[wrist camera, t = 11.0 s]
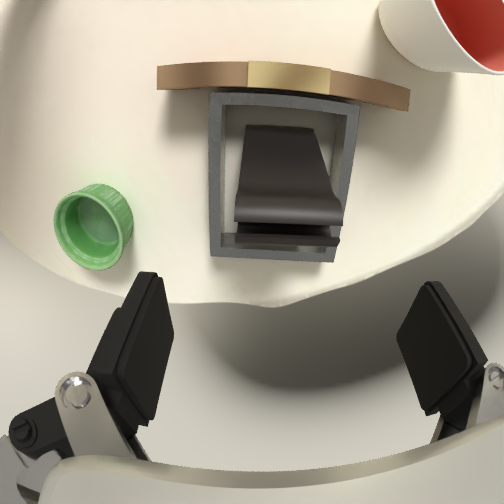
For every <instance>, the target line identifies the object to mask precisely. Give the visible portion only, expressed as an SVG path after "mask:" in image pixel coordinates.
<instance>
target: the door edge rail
mask: <svg viewBox="0 0 504 504" xmlns="http://www.w3.org/2000/svg"><path fill="white" fill-rule="evenodd" d="M200 88H250V89H270V90H283V91H294V92H303V93H311V94H319V95H326V96H332V97H338V98H344V99H349V100H355V101H360V102H364V103H369V104H373V105H378V106H382V107H386V108H391V109H397V110H402V111H407V112H408V106H409V96H410V89H407V88H404V87H401V86H397V85H394V84H390V83H387V82H383V81H379V80H376V79H371V78H367V77H363V76H359V75H354V74H349V73H344V72H339V71H333V70H331V69H328V68H322V67H315V66H308V65H300V64H291V63H280V62H265V61H249V62H199V63H184V64H173V65H164V66H157V90H181V89H200Z"/></svg>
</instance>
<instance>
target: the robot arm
mask: <svg viewBox="0 0 504 504" xmlns="http://www.w3.org/2000/svg"><path fill="white" fill-rule="evenodd" d="M173 339H174V330H173V325H172V321H171V317H170V312H169V307H168V302H167V298H166V293H165V287H164V282H163V278H162V277H158V275H157V273H155V272H142V271H141V272H139V273H138V275H137V277H136V279H135V281H134V283H133V285H132V287H131V289H130V291H129V293H128V294H127V296H126V298H125V301H124V303H123V305H122V307H121V308H117V309H116V310H115V311H114V313H113V315H112V317H111V319H110V321H109V323H108V325H107V328H106V330H105V331H104V334H103V336H102V338H101V340H100V343H99V345H98V347H97V349H96V351H95V354H94V356H93V358H92V360H91V363H90V365H89V367H88V370H87V372H86V373H83V372H73V373H69V374H67V375H66V376H64V377H63V378H62V379H61V380H60V381H59V383H58V385H57V386H56V390H55V397H53V398H51V399H49V400H47V401H45V402H43V403H41V404H39V405H37V406H35V407H33V408H31V409H28V410H26V411H24V412H22V413H20V414H19V415H17V416H15V417H14V419H13V420H12V421H11V423H10V426H9V436H6V435H3V436H2V437H1V438H0V504H504V368H503V367H502V366H500V365H499V364H497V363H491V364H489V365H488V366H487V367H486V368H484V365H485V363H486V362H487V361H488V359H487V357H486V355H485V354H484V352H483V350H482V348H481V346H480V345H479V343H478V341H477V339H476V337H475V336H474V334H473V332H472V330H471V329H470V327H469V325H468V324H467V322H466V320H465V319H464V317H463V316H462V314H461V313H460V311H459V309H458V307H457V306H456V304H455V303H454V301H453V300H452V299H451V297H450V295H449V294H448V292H447V291H446V289H445V288H444V286H443V285H442V284H441V283H440V282H439V281H428V282H425V284H424V285H423V286H422V287H421V288H420V290H419V292H418V294H417V296H416V298H415V300H414V302H413V304H412V306H411V308H410V310H409V312H408V314H407V316H406V318H405V320H404V322H403V324H402V325H401V327H400V329H399V331H398V333H397V343H398V345H399V348H400V350H401V353H402V355H403V358H404V360H405V363H406V365H407V368H408V371H409V374H410V377H411V379H412V382H413V385H414V388H415V391H416V394H417V397H418V400H419V403H420V406H421V408H422V409H423V410H424V411H425V414H426V416H429V415H432V414H436V413H437V412H438V411H440V414H441V415H440V418H439V421H438V423H437V426H436V429H435V432H434V434H433V437H432V440H431V442H430V444H428V445H425V446H422V447H419V448H415V449H412V450H409V451H405V452H402V453H398V454H395V455H391V456H387V457H383V458H379V459H374V460H369V461H364V462H359V463H354V464H348V465H342V466H335V467H328V468H319V469H310V470H297V471H279V472H243V471H224V470H210V469H200V468H190V467H183V466H175V465H169V464H163V463H157V462H152V461H151V460H150V458H149V457H148V455H147V454H146V452H145V450H144V449H143V447H142V445H141V444H140V442H139V440H138V439H137V437H136V435H135V434H136V433H137V430H138V425H142V426H147V427H148V423H149V420H153V419H154V417H155V413H156V409H157V404H158V400H159V396H160V391H161V387H162V383H163V379H164V374H165V370H166V366H167V362H168V358H169V354H170V351H171V346H172V343H173Z"/></svg>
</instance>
